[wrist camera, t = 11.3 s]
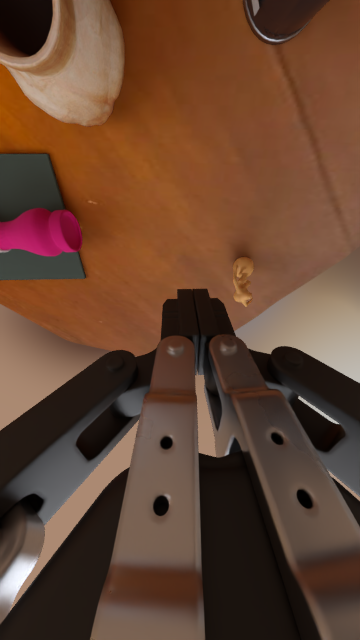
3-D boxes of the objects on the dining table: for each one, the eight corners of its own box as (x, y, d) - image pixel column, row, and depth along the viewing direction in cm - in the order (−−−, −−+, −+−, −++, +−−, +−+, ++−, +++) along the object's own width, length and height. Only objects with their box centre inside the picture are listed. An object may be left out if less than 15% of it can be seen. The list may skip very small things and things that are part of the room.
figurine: (255, 275, 44) (279, 306, 34) (229, 287, 46) (244, 321, 36) (242, 240, 39) (265, 265, 30) (214, 256, 41) (227, 284, 31)
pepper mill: (76, 264, 34) (-38, 270, 35) (87, 238, 38) (-15, 245, 39) (51, 221, 28) (-85, 230, 29) (68, 197, 32) (-51, 206, 33)
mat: (-90, 154, 30) (-95, 153, 30) (48, 153, 31) (47, 153, 30) (-13, 279, 42) (-15, 280, 42) (86, 277, 43) (85, 278, 42)
